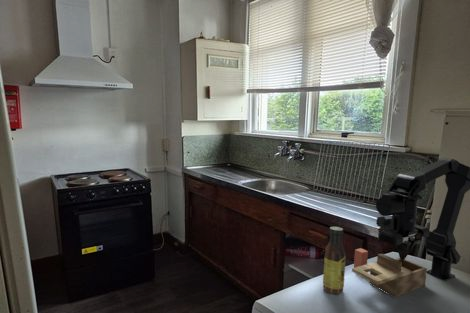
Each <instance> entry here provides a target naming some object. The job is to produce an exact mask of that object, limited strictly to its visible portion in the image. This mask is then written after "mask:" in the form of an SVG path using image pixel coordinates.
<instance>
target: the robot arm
mask: <svg viewBox="0 0 470 313" xmlns="http://www.w3.org/2000/svg"><path fill="white" fill-rule="evenodd" d="M442 176H445V178H444V182H445V186H446V187H447V191H446V195H445V198H444V202H443V204H442V208H441V210H440V214H439V218H438V221H437V225H436V227H435V228H434V229H433V230H432V231H431V230H429V228H428V227H427V226H426V227H425V226H424V225H423V226H422V225H419V224H416V222H418V221H420V217H419V216H417V211H418V201H419V200H423V196H422V195H421V194H420V193H421V192H423V191H424V190H425V189H426V188H427V185H428V184H429V183H431V182H432V181H435V180H436V179H439V178H440V177H442ZM468 191H470V166H468V165H465V164H463V163H460V161H458V160H456V159H454V158H447V157H442V158H440V159H438V160H437V161H435V162H433V163H431V164H428V165H427V166H425V167H422V168H421V169H417V170H416V171H406V172H402V173H399V174H397V175H396V177H395V179H394V181H393V182H392V184H391V185H390V186H389V188H388V190H387V192H386V193H382V194H381V197H380V198H378V199H377V200H376V202H375V207H376V211H377V212H378V214H379V215H380V216H377V217H376V221H375V222H376V226H377V227H379V228H380V229H381V231H379V232H378V234H377V238H378V239H377V240H379V241H382V242H384V243H387V244H389V245H392V246H396V250H397V252H398V253H397V254H398V256H399V257H398V258H400V259H402V260H404V259H406V258H407V257H408V255H409V254H410V252H411V251H412V250H413V248H414V247H415V246H416V244H417V243H419V239H417V238H416V236H415V235H418V234H419V235H421V237H423V238H424V239H425V240H424V246H425V252H426V255H428V256H431V257H432V261H431V269H427V273H426V274H428V275H431V276H434V277H437V279H438V278H439V279H441V280H444V281H448V280H450V279H453V278H455V277H456V275H455V274H453V273H452V264H453V265H457V264H458V263H459V262H460V261H461V255H460V254H459V252H458V251H457V249H456V247H457V241H456V238H455V237H456V236H455V235H454V231H455V228H456V225H457V224H456V223H457V221H458V217H459V214H460V211H461V208H462V204H463V201H464V198H465V194H466V193H467V192H468ZM386 216H391V217H386ZM382 229H386V230H382Z"/></svg>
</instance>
